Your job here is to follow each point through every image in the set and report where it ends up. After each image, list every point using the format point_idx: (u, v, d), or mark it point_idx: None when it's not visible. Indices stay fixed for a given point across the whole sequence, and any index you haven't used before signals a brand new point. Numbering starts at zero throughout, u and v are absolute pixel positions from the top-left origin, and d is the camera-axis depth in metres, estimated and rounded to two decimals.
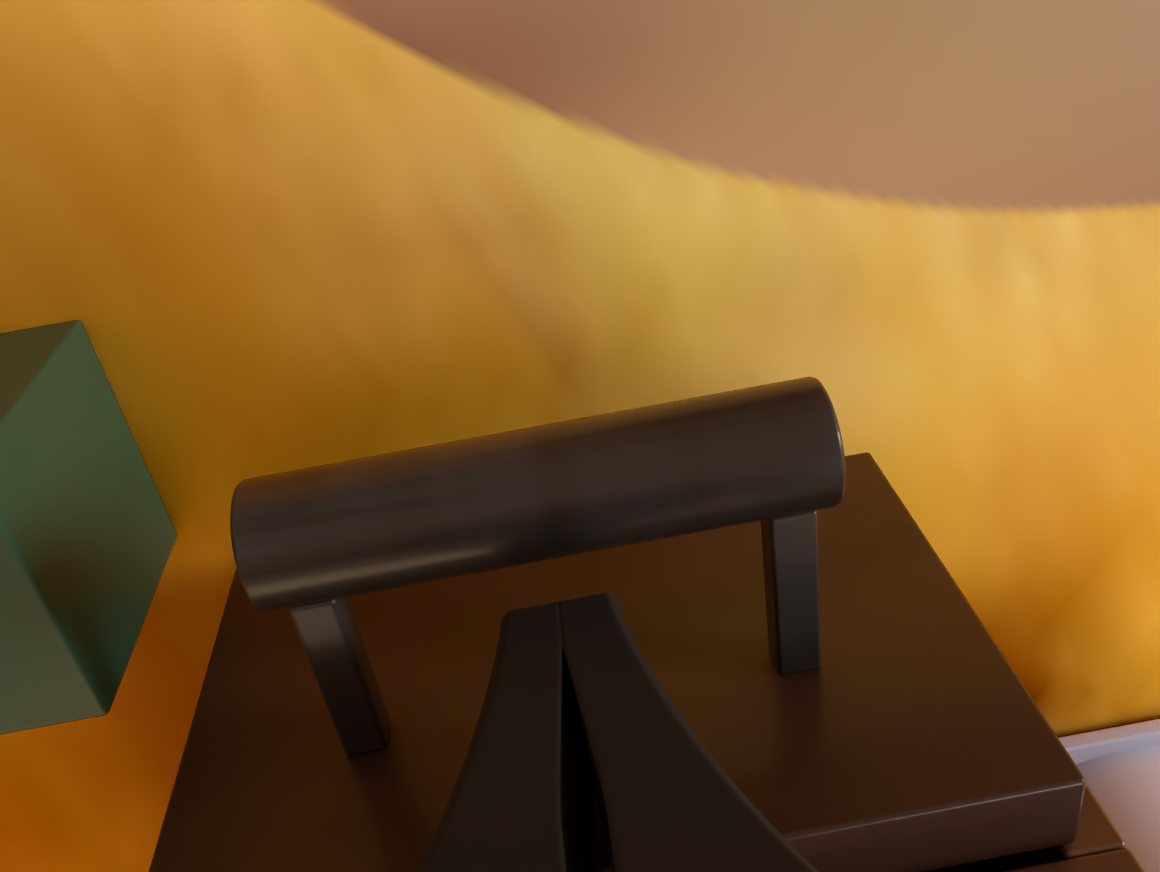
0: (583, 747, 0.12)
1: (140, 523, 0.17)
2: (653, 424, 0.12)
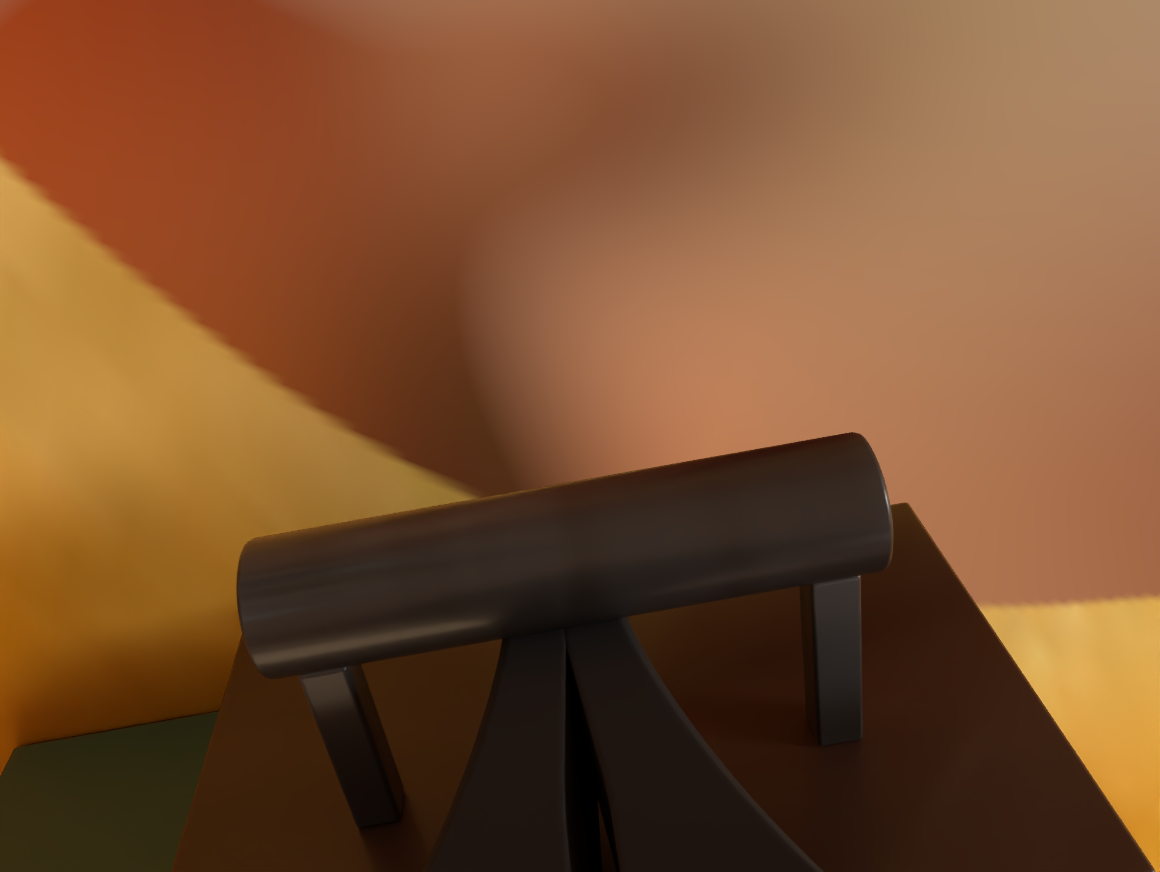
0: (587, 746, 0.12)
1: None
2: (687, 484, 0.11)
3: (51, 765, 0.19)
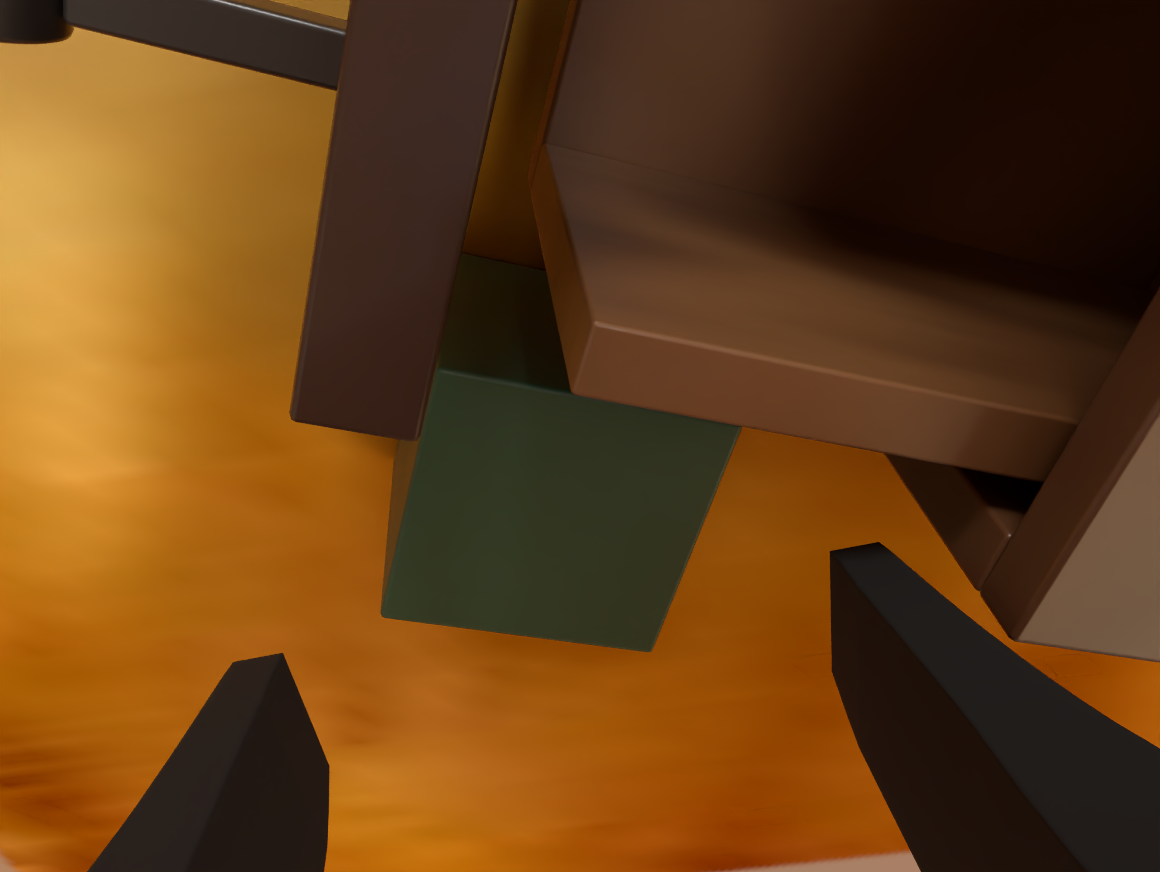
0: (302, 800, 0.12)
1: None
2: None
3: None
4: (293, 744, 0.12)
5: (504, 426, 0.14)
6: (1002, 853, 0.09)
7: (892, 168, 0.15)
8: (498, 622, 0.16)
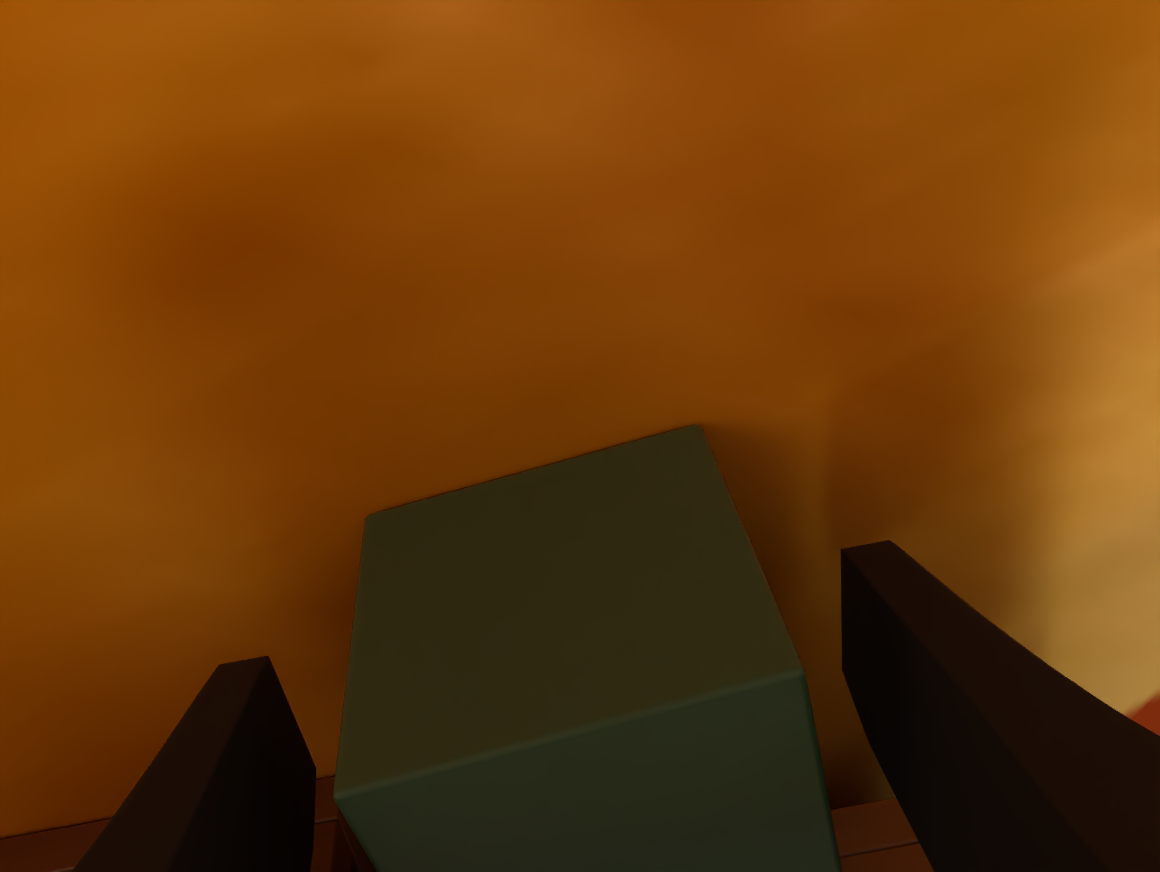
0: (288, 803, 0.12)
1: None
2: None
3: None
4: (279, 747, 0.12)
5: None
6: (1017, 851, 0.09)
7: None
8: (615, 741, 0.09)
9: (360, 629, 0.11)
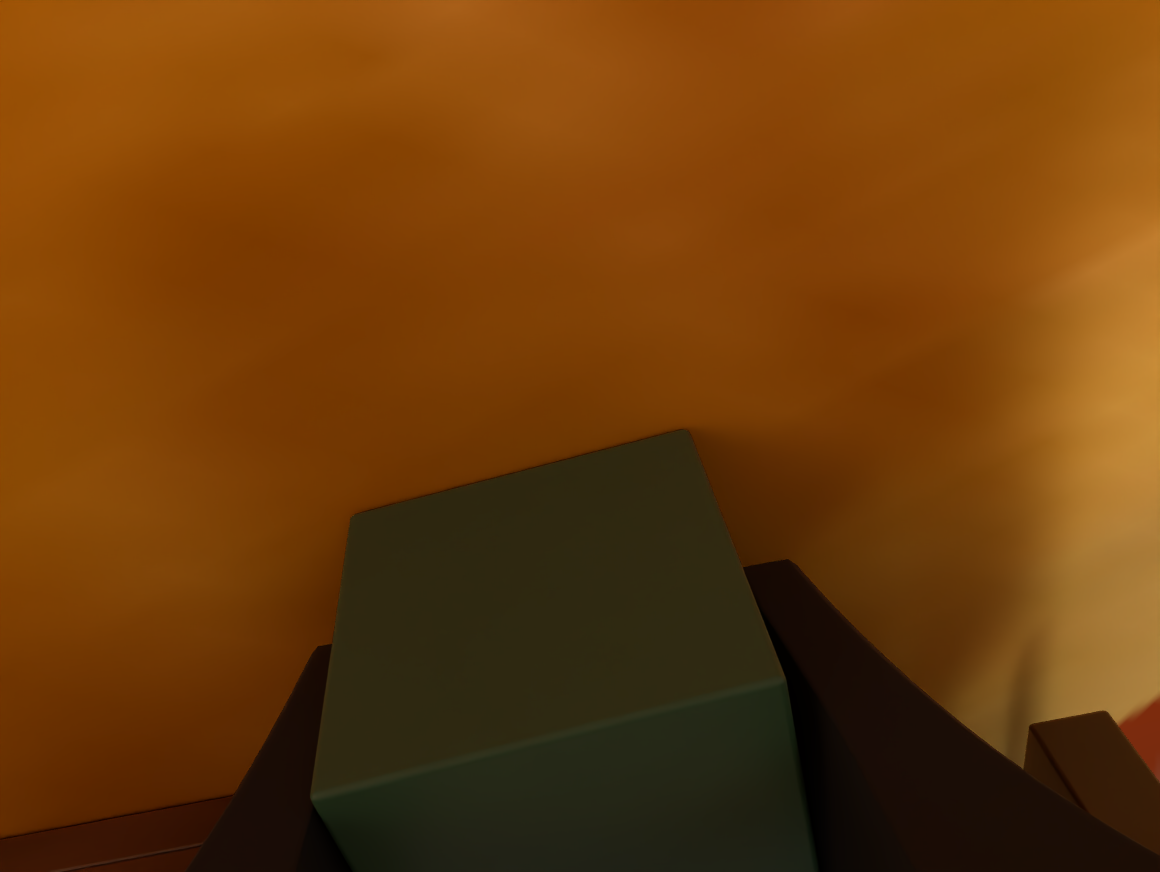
0: None
1: None
2: None
3: None
4: None
5: None
6: None
7: None
8: (595, 746, 0.09)
9: (342, 629, 0.11)
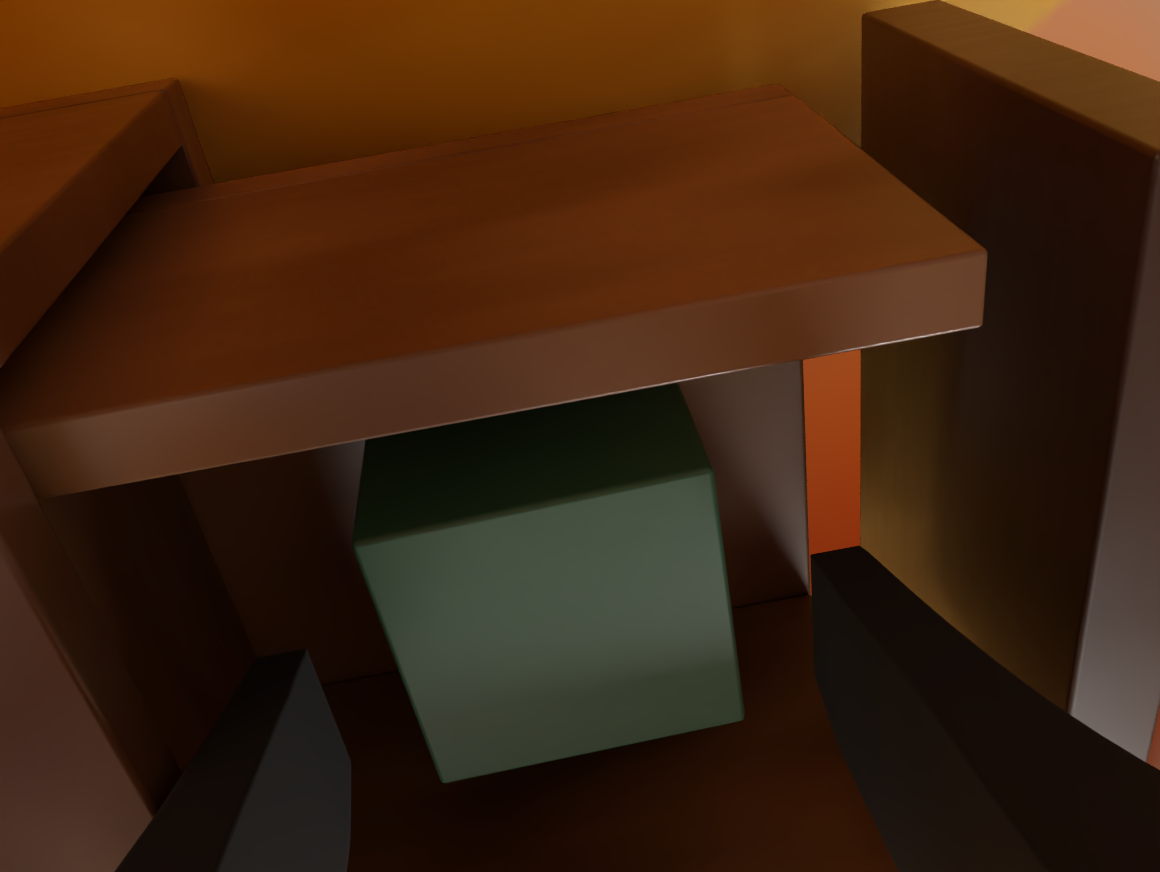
0: (326, 795, 0.12)
1: None
2: None
3: None
4: (317, 740, 0.12)
5: (663, 703, 0.14)
6: (975, 859, 0.09)
7: None
8: (568, 515, 0.12)
9: (371, 444, 0.14)
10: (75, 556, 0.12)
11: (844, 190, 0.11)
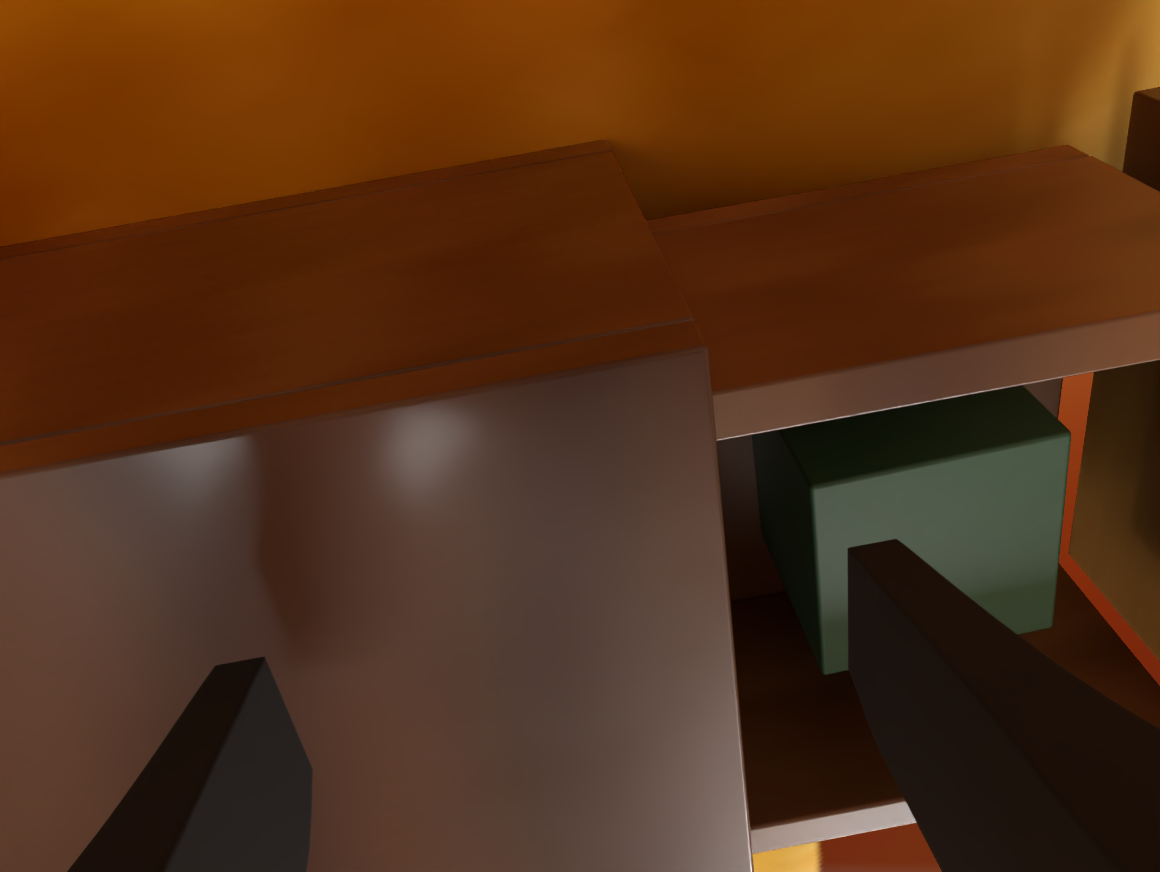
0: (284, 804, 0.12)
1: None
2: None
3: None
4: (275, 748, 0.12)
5: (997, 612, 0.19)
6: (1026, 848, 0.09)
7: None
8: (965, 466, 0.17)
9: None
10: None
11: None
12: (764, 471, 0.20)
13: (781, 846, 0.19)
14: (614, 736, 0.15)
